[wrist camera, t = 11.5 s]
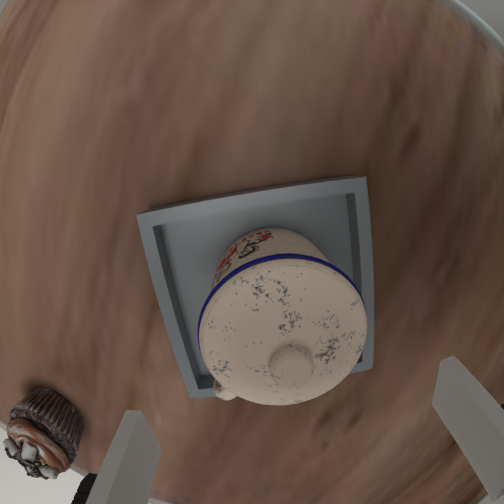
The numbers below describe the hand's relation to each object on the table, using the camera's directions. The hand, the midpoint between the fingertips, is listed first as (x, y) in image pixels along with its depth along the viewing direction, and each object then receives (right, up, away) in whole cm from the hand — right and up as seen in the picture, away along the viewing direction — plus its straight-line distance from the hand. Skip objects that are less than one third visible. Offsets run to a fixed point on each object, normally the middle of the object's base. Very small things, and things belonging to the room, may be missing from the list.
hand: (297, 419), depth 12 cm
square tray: (-1, +4, +14) cm, 14 cm away
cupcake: (-26, -13, +18) cm, 34 cm away
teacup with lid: (-1, +3, +13) cm, 14 cm away
